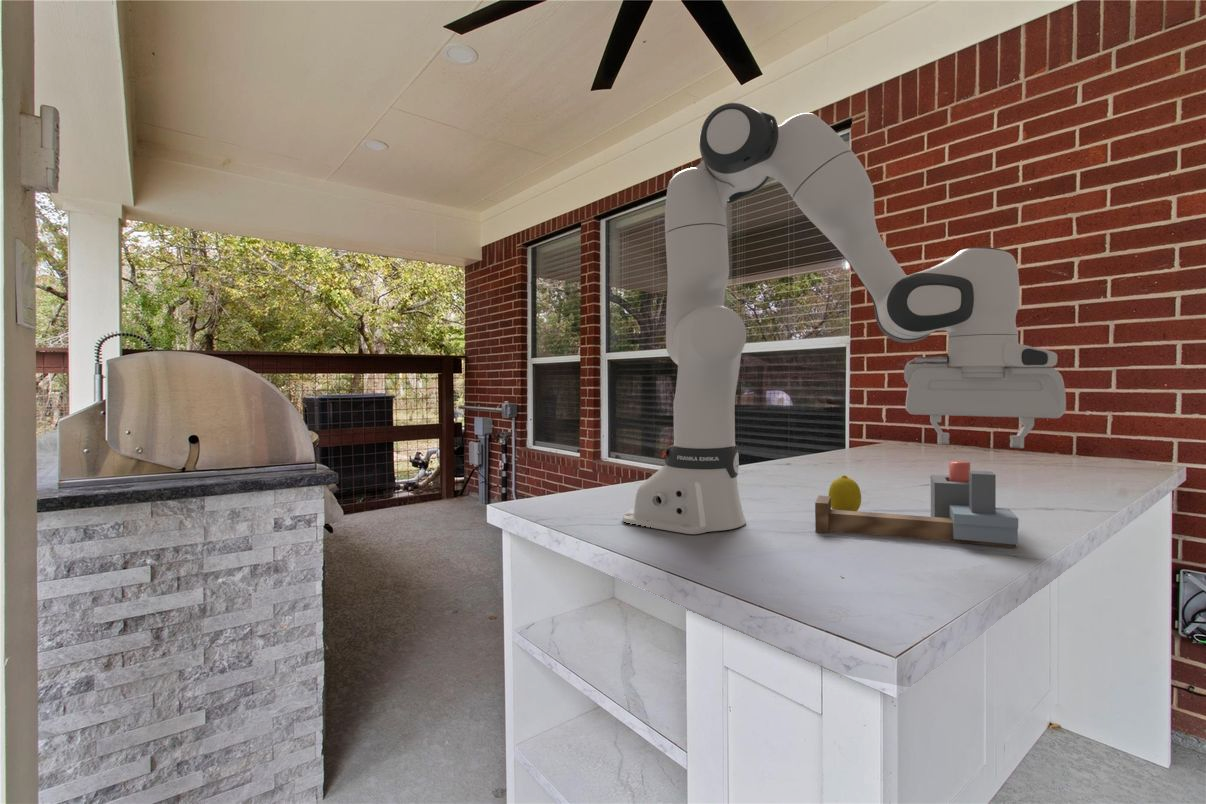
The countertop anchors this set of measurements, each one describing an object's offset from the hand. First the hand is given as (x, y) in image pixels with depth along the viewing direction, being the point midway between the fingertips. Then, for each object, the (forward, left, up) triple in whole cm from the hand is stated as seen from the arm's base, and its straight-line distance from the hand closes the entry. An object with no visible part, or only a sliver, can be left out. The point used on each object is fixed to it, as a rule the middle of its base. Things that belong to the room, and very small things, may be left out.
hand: (979, 446), depth 85 cm
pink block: (-2, +9, -10) cm, 14 cm away
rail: (-9, 0, -15) cm, 17 cm away
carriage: (0, 0, -15) cm, 15 cm away
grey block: (-2, +9, -15) cm, 18 cm away
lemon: (-20, +8, -15) cm, 26 cm away
